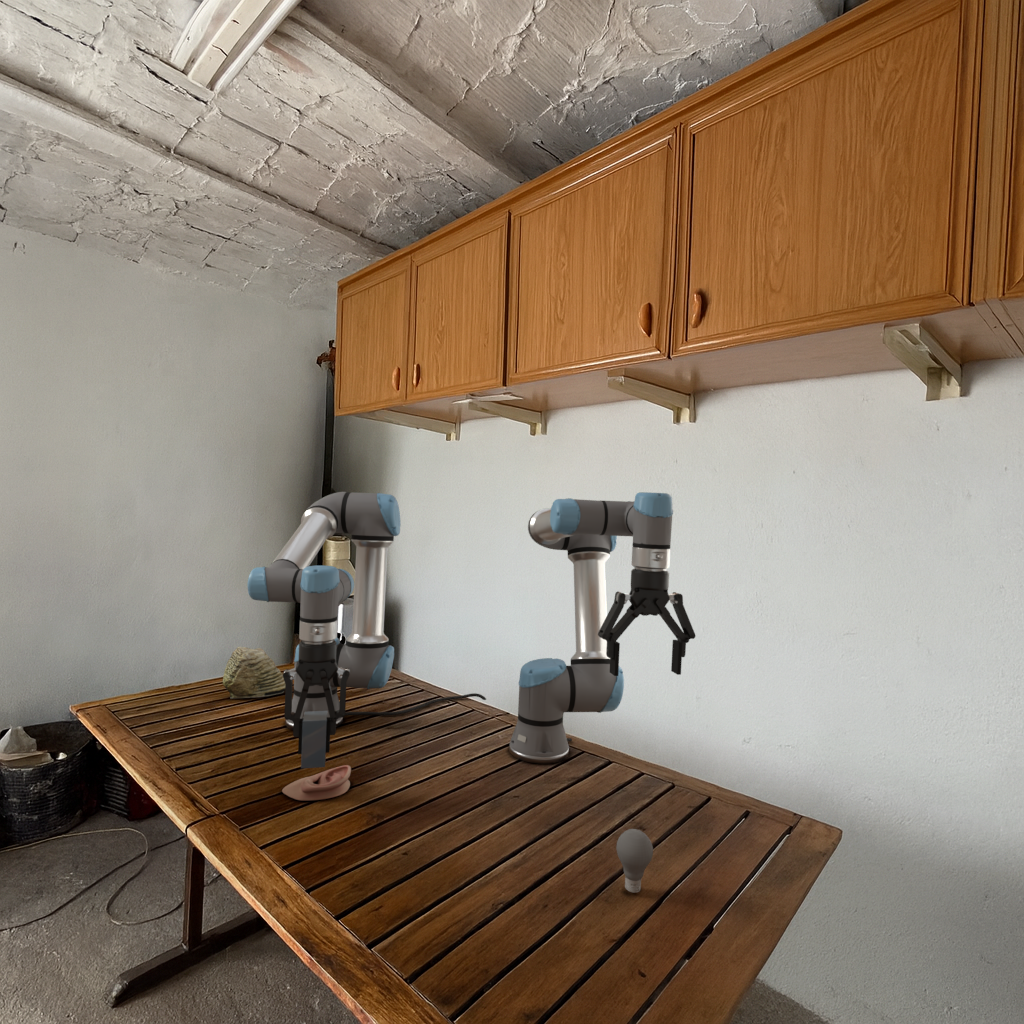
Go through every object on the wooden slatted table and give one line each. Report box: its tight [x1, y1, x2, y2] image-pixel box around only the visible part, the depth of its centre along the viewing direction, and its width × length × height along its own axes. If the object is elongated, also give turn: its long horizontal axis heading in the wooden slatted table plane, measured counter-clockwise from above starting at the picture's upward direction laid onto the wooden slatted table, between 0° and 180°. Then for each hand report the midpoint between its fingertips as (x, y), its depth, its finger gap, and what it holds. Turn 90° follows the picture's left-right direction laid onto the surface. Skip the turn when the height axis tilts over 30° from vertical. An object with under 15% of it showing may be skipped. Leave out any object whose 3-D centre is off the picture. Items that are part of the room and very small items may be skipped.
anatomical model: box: [281, 764, 352, 802], centre depth 137 cm, size 13×4×12 cm
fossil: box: [222, 646, 286, 699], centre depth 198 cm, size 9×18×15 cm, turn 132°
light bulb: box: [615, 828, 654, 894], centre depth 106 cm, size 6×6×10 cm
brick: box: [300, 711, 328, 769], centre depth 133 cm, size 5×6×10 cm
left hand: (314, 750), depth 133 cm, fingers closed on brick, 5 cm apart
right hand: (645, 673), depth 128 cm, fingers open, 13 cm apart
